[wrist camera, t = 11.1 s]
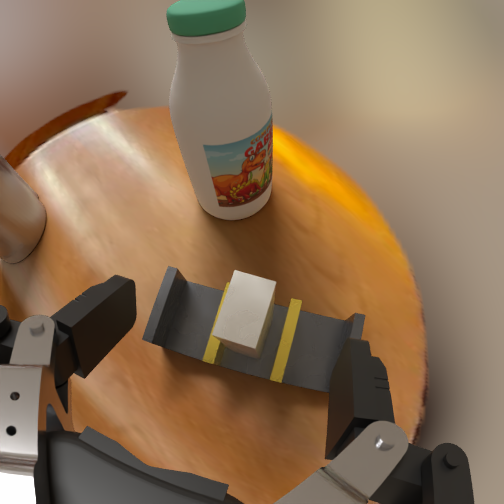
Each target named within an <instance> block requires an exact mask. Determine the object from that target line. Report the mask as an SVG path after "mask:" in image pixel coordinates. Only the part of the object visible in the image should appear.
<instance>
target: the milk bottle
mask: <svg viewBox="0 0 504 504" xmlns="http://www.w3.org/2000/svg"><path fill="white" fill-rule="evenodd" d="M245 17H246V8H245V2H244V0H180V1H178V2H176V3H174V4H172V5H171V6H170V7H169V8H168V9H167V21H168V25H169V28H170V30H171V32H172V35H171V38H172V39H173V40H174V41H175V42H177V46H178V56H177V64H176V69H175V73H174V77H173V81H172V85H171V89H170V98H169V107H170V115H171V120H172V124H173V127H174V131H175V135H176V138H177V141H178V144H179V148H180V151H181V154H182V157H183V160H184V163H185V166H186V169H187V172H188V174H189V177H190V180H191V183H192V186H193V189H194V191H195V194H196V197H197V199H198V201H199V203H200V205H201V206H202V208H203V209H204V210H205V211H206V212H208V213H209V214H211V215H213V216H215V217H217V218H221V219H224V220H240V219H243V218H247V217H249V216H251V215H253V214H255V213H256V212H258V211H259V210H260V209H261V208H262V207H263V206H264V205H265V204H266V202H267V201H268V199H269V197H270V194H271V189H272V152H273V128H272V102H271V96H270V91H269V87H268V84H267V81H266V79H265V77H264V75H263V73H262V71H261V70H260V68H259V67H258V65H257V64H256V62H255V60H254V59H253V57H252V55H251V54H250V52H249V50H248V48H247V45H246V43H245V40H244V36H243V31H244V30H245V29H246V26H247V25H246V22H245Z"/></svg>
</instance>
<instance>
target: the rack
mask: <svg viewBox="0 0 504 504" xmlns="http://www.w3.org/2000/svg"><path fill="white" fill-rule="evenodd" d="M229 285H230V283H229V282H227V284H226V287H225V290H224V291H221V290H218V289H214V288H210V287H207V286H203V285H199V284H196V283H192V282H189V281H186V279H185V278H184V277H183V275H182V274H181V273H180V271H179V270H178V269H177V268H173V267H170V266H168V268H167V271H166V273H165V276H164V279H163V281H162V284H161V287H160V289H159V292H158V295H157V298H156V301H155V303H154V306H153V309H152V312H151V315H150V318H149V321H148V323H147V326H146V329H145V332H144V335H143V338H142V340H144V341H147V342H150V343H152V344H155V345H158V346H161V347H164V348H167V349H170V350H172V351H175V352H178V353H181V354H184V355H187V356H190V357H193V358H196V359H199V360H202V361H204V362H208V363H211V364H214V365H218V366H222V367H225V368H228V369H232V370H235V371H239V372H243V373H246V374H250V375H254V376H257V377H261V378H265V379H269V380H272V381H276V382H280V383H281V382H282V383H286V384H290V385H295V386H299V387H304V388H308V389H313V390H318V391H323V392H329V386H330V379H331V375H332V372H333V369H334V367H335V364H336V362H337V360H338V357H339V355H340V353H341V350H342V348H343V346H344V343H345V341H346V339H347V338H348V337H350V338H355V339H360V340H361V336H362V331H363V325H364V319H365V315H363V314H358V313H354V314H353V315H352V316H350V317H349V318H348V319H347V320H345V321H344V320H340V319H335V318H331V317H326V316H322V315H317V314H313V313H309V312H305V311H300V308H301V304H302V301H301V300H297V299H293V298H291V301H290V304H289V308H288V307H284V306H280V305H276V304H274V310H273V319H272V322H271V325H270V328H269V332H268V335H267V338H266V341H265V344H264V347H263V351H262V354H261V357H260V360H259V359H255V358H252V357H249V356H246V355H242V354H239V353H236V352H233V351H232V350H230V349H229V348H228V347H226V346H225V345H224V344H223V343H221V342H220V341H219V340H218V339H216V338H215V337H214V336H213V335H212V333H213V330H214V327H215V325H216V322H217V319H218V316H219V313H220V310H221V307H222V305H223V302H224V299H225V296H226V293H227V290H228V288H229Z"/></svg>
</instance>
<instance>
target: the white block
mask: <svg viewBox="0 0 504 504" xmlns="http://www.w3.org/2000/svg"><path fill="white" fill-rule="evenodd" d="M275 291H276V282H275V281H272V280H268V279H265V278H261V277H258V276H254V275H251V274H247V273H244V272H240V271H237V270H235V271H234V274H233V276H232V279H231V282H230V285H229V288H228V290H227V293H226V296H225V299H224V302H223V305H222V307H221V310H220V313H219V316H218V319H217V322H216V325H215V327H214V330H213V333H212V335H213V336H214V337H215V338H216V339H218V340H219V341H220V342H221V343H223V344H224V345H225V346H226V347H228V348H229V349H230V350H232V351H233V352H236V353H239V354H242V355H246V356H249V357H252V358H255V359H259V360H260V357H261V354H262V351H263V347H264V344H265V341H266V338H267V335H268V332H269V328H270V325H271V322H272V319H273V310H274V301H275Z"/></svg>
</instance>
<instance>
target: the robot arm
mask: <svg viewBox="0 0 504 504" xmlns="http://www.w3.org/2000/svg"><path fill="white" fill-rule="evenodd" d="M45 221H46V211H45V207H44V205H43V204H42V203H41V202H40V201H39V200H38V195H37V193H36V192H35V191H34V190H33V189H32V188H31V187H30V186H29V185H28V184H27V183H26V182H25V181H24V180H23V179H22V178H21V177H20V176H19V175H18V173H17V172H16V171H15V170H14V169H13V168H12V167H11V166H10V165H9V164H8V162H7V161H6V160H5V159H4V158H3V157H2V156H1V155H0V258H1V259H3V260H4V261H6V262H8V263H17V262H19V261H21V260H23V259H24V258H26V257H27V256H28V255H29V254H30V253H31V252H32V250H33V249H34V248H35V246H36V245H37V243H38V241H39V240H40V237H41V235H42V233H43V230H44V226H45ZM136 315H137V311H136V289H135V282H134V281H133V280H131V279H128V278H125V277H122V276H119V275H114V276H113V277H111V278H110V279H108V280H107V281H106V282H104V283H101V284H98V285H95V286H92V287H90V288H89V289H87V290H86V291H85V292H83V293H82V295H79V296H78V297H76V298H75V300H72V301H71V302H70V303H68V304H67V305H66V306H64V307H63V308H62V309H60V310H59V311H58V312H56V313H55V314H54V315H53V316H51V317H48V316H44V315H35V316H31V317H29V318H27V319H25V320H24V321H23V322H18V321H14V320H10V319H9V316H8V312H7V309H6V308H5V307H4V306H2V305H0V504H244V503H243V502H241V501H239V500H238V499H236V498H235V497H233V496H231V495H229V494H228V493H227V490H228V486H229V485H228V484H224V483H221V482H217V481H214V480H211V479H207V478H204V477H201V476H198V475H195V474H192V473H188V472H180V471H174V470H167V469H162V468H156V467H151V466H148V465H146V464H144V463H143V462H142V461H140V460H139V459H138V458H136V457H135V456H134V455H133V454H131V453H130V452H129V451H127V450H126V449H125V448H124V447H122V446H121V445H120V444H119V443H118V442H116V441H114V440H112V439H110V438H108V437H106V436H104V435H103V434H101V433H99V432H97V431H95V430H94V429H92V428H90V427H88V426H87V427H86V428H85V429H84V431H83V432H82V433H78V432H75V431H74V427H73V423H72V404H71V379H70V376H71V375H72V374H73V373H75V374H77V375H78V376H80V377H82V378H84V379H85V378H86V377H87V376H88V374H89V373H90V372H91V371H92V370H93V369H94V368H95V367H96V366H97V365H98V364H99V363H100V361H101V360H102V359H103V358H104V357H105V356H106V355H107V354H108V353H109V352H110V351H111V350H112V349H113V347H114V346H115V345H116V344H117V343H118V342H119V341H120V340H121V339H122V338H123V337H124V336H125V335H126V334H127V333H128V332H129V331H130V329H131V328H132V327H133V325H134V323H135V320H136ZM389 389H390V388H389V382H388V376H387V371H386V367H385V366H384V364H383V363H382V361H381V360H380V359H379V357H373V356H371V352H370V345H369V342H368V341H365V340H360V339H355V338H350V337H348V338H347V339H346V341H345V343H344V346H343V348H342V350H341V353H340V355H339V357H338V360H337V362H336V364H335V367H334V369H333V372H332V375H331V379H330V386H329V408H328V425H327V439H326V451H325V459H329V460H332V461H331V462H330V463H329V464H328V465H327V466H325V467H321V468H320V469H318V470H317V471H316V472H314V473H313V474H312V475H311V476H310V477H308V478H307V479H306V480H305V481H303V482H302V483H301V484H299V485H298V486H297V487H296V488H294V489H293V490H292V491H290V492H289V493H288V494H286V495H285V496H283V497H282V498H281V499H279V500H278V501H276V502H275V503H274V504H367V503H368V501H367V500H368V499H369V500H372V501H375V502H378V503H381V504H474V497H473V489H472V482H471V475H470V469H469V463H468V458H467V456H466V454H465V453H464V451H463V450H462V449H461V448H459V447H458V446H457V445H454V444H451V443H443V444H440V445H438V446H437V447H436V448H435V449H434V450H433V451H430V450H427V449H423V448H420V447H418V446H415V445H412V444H410V443H409V442H408V438H407V436H406V434H405V432H404V431H403V430H402V429H401V428H400V427H399V426H397V425H396V424H395V420H394V413H393V406H392V400H391V394H390V391H389Z"/></svg>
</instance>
